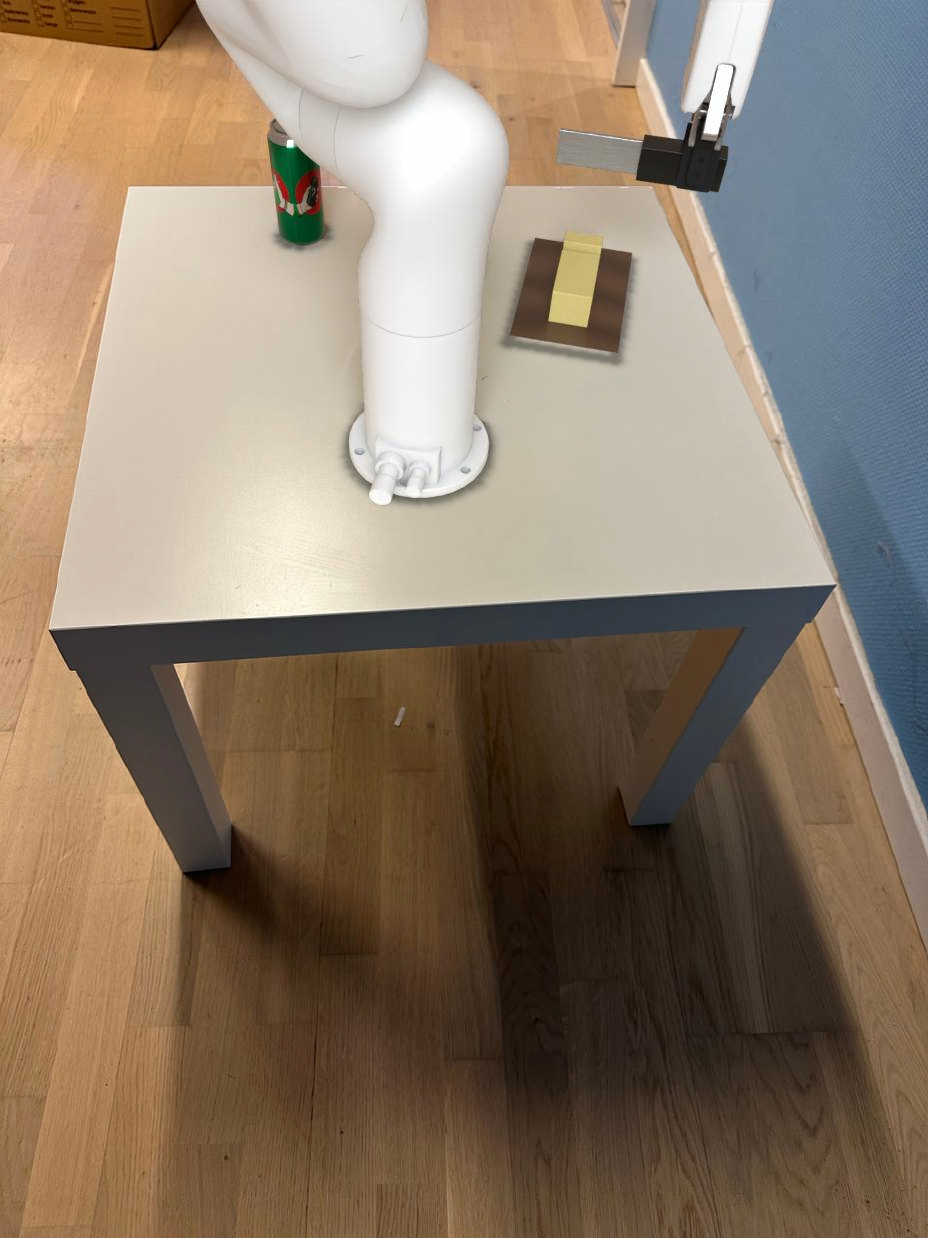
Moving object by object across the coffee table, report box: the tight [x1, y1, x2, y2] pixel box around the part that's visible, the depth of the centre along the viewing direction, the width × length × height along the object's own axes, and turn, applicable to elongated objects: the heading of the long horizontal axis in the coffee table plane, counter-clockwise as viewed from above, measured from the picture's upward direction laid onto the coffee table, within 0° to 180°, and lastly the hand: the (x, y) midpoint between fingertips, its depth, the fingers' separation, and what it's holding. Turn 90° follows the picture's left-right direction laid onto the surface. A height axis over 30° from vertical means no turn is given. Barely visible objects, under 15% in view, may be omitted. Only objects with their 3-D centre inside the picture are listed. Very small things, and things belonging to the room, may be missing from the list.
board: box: [509, 237, 633, 354], centre depth 95 cm, size 18×11×1 cm, turn 169°
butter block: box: [548, 250, 600, 327], centre depth 92 cm, size 8×4×4 cm, turn 169°
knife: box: [555, 127, 730, 193], centre depth 80 cm, size 15×2×3 cm, turn 78°
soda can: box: [266, 117, 326, 246], centre depth 95 cm, size 5×5×12 cm
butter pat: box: [563, 230, 604, 255], centre depth 96 cm, size 2×4×4 cm, turn 79°
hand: (693, 177), depth 81 cm, fingers closed on knife, 2 cm apart
